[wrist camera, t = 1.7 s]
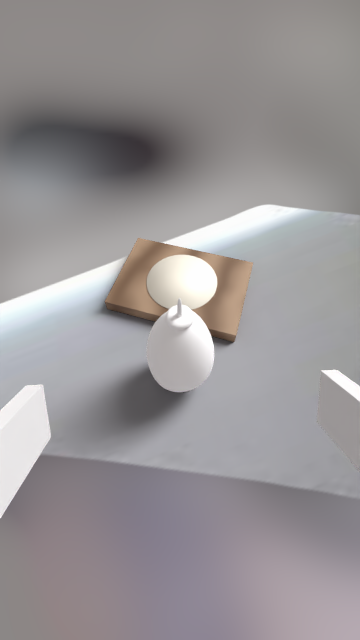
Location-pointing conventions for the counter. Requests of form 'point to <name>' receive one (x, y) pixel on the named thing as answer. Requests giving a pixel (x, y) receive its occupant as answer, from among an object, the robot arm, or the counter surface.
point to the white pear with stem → (180, 349)
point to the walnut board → (182, 285)
